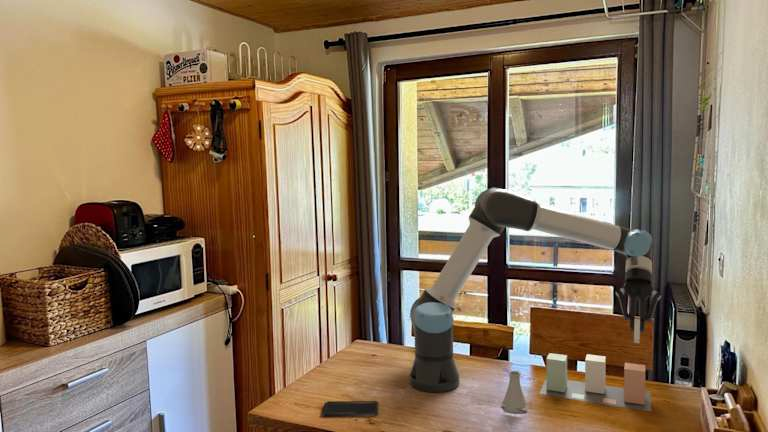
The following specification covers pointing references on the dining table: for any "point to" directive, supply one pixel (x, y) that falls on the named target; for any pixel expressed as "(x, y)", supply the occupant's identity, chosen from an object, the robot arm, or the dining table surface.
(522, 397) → the flask
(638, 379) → the pink tall block
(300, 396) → the dining table surface
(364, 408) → the phone
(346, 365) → the dining table surface
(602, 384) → the cream tall block
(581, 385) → the grey board
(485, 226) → the robot arm
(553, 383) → the pale green tall block
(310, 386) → the dining table surface
